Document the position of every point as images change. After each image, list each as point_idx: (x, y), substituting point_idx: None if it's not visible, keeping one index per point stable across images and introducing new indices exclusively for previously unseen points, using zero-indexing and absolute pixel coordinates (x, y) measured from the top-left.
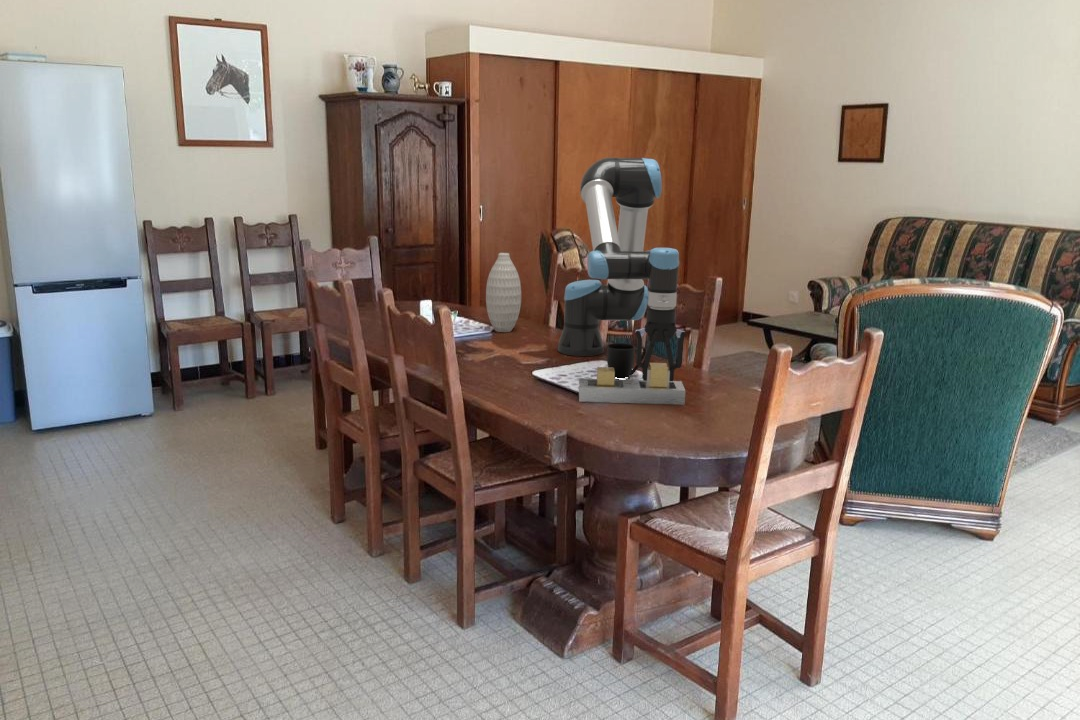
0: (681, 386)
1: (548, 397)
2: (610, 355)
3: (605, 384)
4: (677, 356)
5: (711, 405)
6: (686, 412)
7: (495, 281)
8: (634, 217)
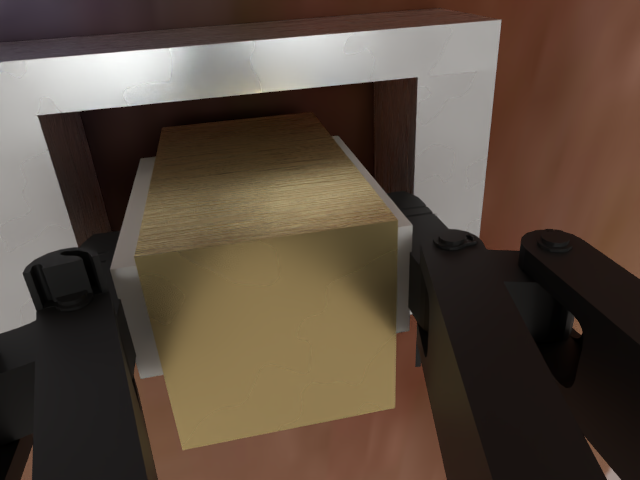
0: (463, 207)
1: None
2: None
3: None
4: (591, 442)
5: (586, 217)
6: (413, 371)
7: None
8: None
